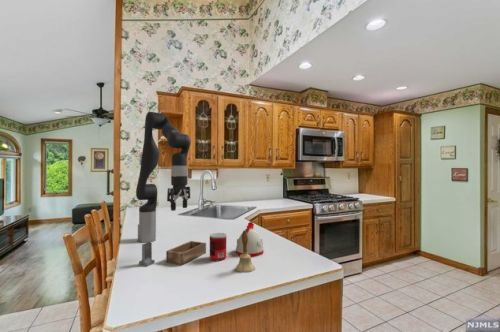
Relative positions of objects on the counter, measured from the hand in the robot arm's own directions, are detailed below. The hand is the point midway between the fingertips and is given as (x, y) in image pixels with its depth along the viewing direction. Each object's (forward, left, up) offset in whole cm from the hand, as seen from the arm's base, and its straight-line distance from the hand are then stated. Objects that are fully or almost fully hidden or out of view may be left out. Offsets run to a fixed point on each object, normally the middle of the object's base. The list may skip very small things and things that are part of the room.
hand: (179, 209), depth 121 cm
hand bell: (+35, 0, -23) cm, 42 cm away
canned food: (+18, +6, -23) cm, 30 cm away
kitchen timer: (+28, +20, -23) cm, 41 cm away
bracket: (-7, -13, -23) cm, 27 cm away
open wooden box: (+4, +1, -23) cm, 23 cm away
